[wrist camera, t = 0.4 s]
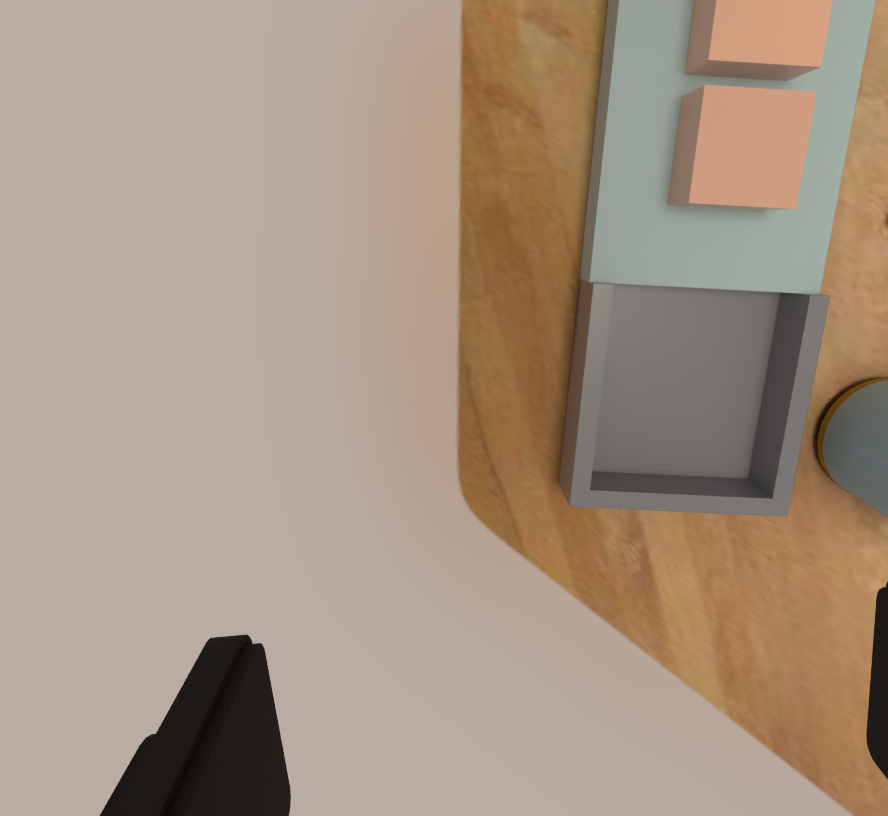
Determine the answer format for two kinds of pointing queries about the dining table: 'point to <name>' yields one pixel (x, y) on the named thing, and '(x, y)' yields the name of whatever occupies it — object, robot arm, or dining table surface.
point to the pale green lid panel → (652, 152)
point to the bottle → (858, 443)
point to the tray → (688, 397)
